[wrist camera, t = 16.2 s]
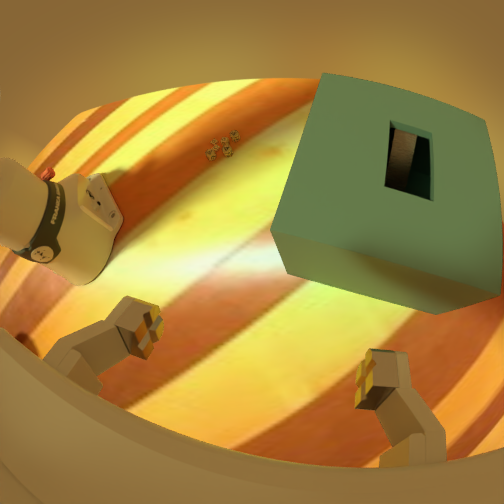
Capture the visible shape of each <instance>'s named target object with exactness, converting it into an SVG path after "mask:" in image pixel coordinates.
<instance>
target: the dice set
mask: <svg viewBox="0 0 504 504" xmlns="http://www.w3.org/2000/svg"><path fill="white" fill-rule="evenodd" d="M230 137H231V139H232V141H234V142H236V141H239V140H240V136H239V133H238V131H236V130H233V131H231V132H230ZM220 142H221V144H222V145H223V148H222V151H223V153H224V155H225V156H226V157H230V156H232V154H233V151H232V149H231V146H229V139H228V137H222V139H221V141H220ZM210 143H211V144H212V145H215V146H214V147H213V148H212V149H208V150H207V151H206V152H205V154H206V156H207V158H208V160H210V161H212V160H215V158H216V153H215V151H216V152H217V151H218V150H219V149H220V146H218V145H216V144H217V143H218V141H217V140H216V139H215V138H214V139H213V140H212V141H211V142H210Z"/></svg>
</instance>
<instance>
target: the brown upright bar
mask: <svg viewBox="0 0 504 504" xmlns="http://www.w3.org/2000/svg"><path fill="white" fill-rule="evenodd" d="M416 139H417V135H415V134H412V133H408V132H405V131H402V130H398V129H395V128H391V129H390V135H389V143H388V155H387V166H386V175H385V184H384V187H388V188H391V189H395V190H398V191H402V192H405V188H406V184H407V180H408V176H409V172H410V168H411V163H412V159H413V154H414V149H415V144H416Z"/></svg>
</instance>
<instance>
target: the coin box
mask: <svg viewBox="0 0 504 504" xmlns="http://www.w3.org/2000/svg"><path fill="white" fill-rule="evenodd" d="M391 128H395V129H398V130H402V131H405V132H408V133H412V134H415V135H417V139H416V144H415V149H414V154H413V159H412V163H411V168H410V172H409V176H408V180H407V184H406V188H405V192H402V191H398V190H395V189H391V188H388V187H384V184H385V175H386V166H387V155H388V143H389V135H390V129H391ZM270 231H271V233H272V236H273V238H274V241H275V243H276V246H277V248H278V251H279V253H280V256H281V258H282V261H283V264H284V266H285V269H286V271H287V274H290V275H294V276H297V277H301V278H304V279H308V280H311V281H315V282H318V283H322V284H325V285H329V286H332V287H336V288H340V289H343V290H347V291H350V292H354V293H358V294H361V295H365V296H369V297H372V298H376V299H379V300H383V301H387V302H390V303H394V304H398V305H402V306H405V307H409V308H413V309H416V310H420V311H424V312H428V313H431V314H435V315H437V314H441V313H445V312H449V311H452V310H456V309H459V308H463V307H466V306H469V305H473V304H476V303H479V302H482V301H485V300H488V299H491V298H494V297H497V296H500V294H501V282H502V263H503V234H502V215H501V203H500V193H499V186H498V179H497V172H496V167H495V161H494V156H493V151H492V146H491V142H490V138H489V134H488V130H487V126H486V123H485V120H483V119H481V118H479V117H477V116H475V115H473V114H470V113H468V112H466V111H463V110H461V109H459V108H456V107H454V106H451V105H449V104H446V103H443V102H441V101H438V100H435V99H432V98H429V97H426V96H423V95H420V94H417V93H414V92H411V91H407V90H404V89H400V88H396V87H393V86H389V85H385V84H381V83H377V82H372V81H368V80H363V79H358V78H353V77H347V76H341V75H335V74H328V73H323V74H322V76H321V79H320V82H319V86H318V89H317V92H316V95H315V98H314V101H313V104H312V107H311V110H310V113H309V116H308V119H307V122H306V125H305V128H304V131H303V134H302V137H301V140H300V143H299V146H298V149H297V152H296V155H295V158H294V161H293V164H292V167H291V170H290V173H289V176H288V179H287V182H286V185H285V188H284V191H283V194H282V196H281V199H280V202H279V205H278V208H277V211H276V214H275V217H274V220H273V223H272V226H271V229H270Z"/></svg>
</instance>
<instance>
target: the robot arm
mask: <svg viewBox="0 0 504 504" xmlns="http://www.w3.org/2000/svg"><path fill="white" fill-rule="evenodd" d="M0 93H1V92H0ZM0 95H1V94H0ZM54 176H55V172H54V170H53V169H52V168H51V167H48V168H47V169H46V170H45V171H44V172H43V173H42V174H41V179H40V178H38V177H37V176H35V175H34V174H33V173H31V172H30V171H29V170H27V169H26V168H24V167H23V166H22V165H20V164H19V163H18V162H16V161H15V160H13V159H10V158H0V244H1V245H3V246H5V247H8V248H10V249H12V251H13V252H14V253H15V254H17V255H19V256H20V257H23V258H25V259H27V260H30V261H33V262H37V263H40V264H42V265H43V266H45V267H47V268H49V269H50V270H52V271H53V272H54V273H55V274H57V275H60V276H62V277H63V278H65V279H66V280H67V281H69V282H70V283H71V284H73V285H77V286H80V285H85V284H87V283H89V282H91V281H92V280H93V279H94V278H95V277H96V276H97V275H98V274H99V273H100V272H101V270H102V269H103V267H104V266H105V264H106V262H107V260H108V258H109V255H110V253H111V250H112V246H113V242H114V238H115V236H116V234H117V232H118V230H119V229H120V227H121V225H122V223H123V216H122V214H121V212H120V210H119V208H118V206H117V204H116V202H115V200H114V198H113V196H112V194H111V192H110V190H109V188H108V186H107V184H106V182H105V180H104V178H103V176H102V175H101V174H100V173H97V174H93V175H91V176H89V177H87V178H85V177H84V176H83V175H81V174H72V175H70V176H68V177H66V178H64V179H63V180H61V181H60V182H58V183H55V182H52V181H49V180H50V179H52V178H53V177H54ZM160 312H161V311H160V308H159V306H157V305H154V304H151V303H148V302H145V301H142V300H139V299H136V298H133V297H130V296H125V297H123V299H122V300H121V301H120V302H119V303H118V305H117V306H116V307H115V308H114V309H113V311H112V312H111V313H110V314H109V316H108V317H107V318H106V319H105V321H103V320H101V321H98V322H96V323H94V324H92V325H89V326H87V327H85V328H83V329H81V330H78V331H76V332H74V333H72V334H69V335H67V336H65V337H63V338H61V339H59V340H58V341H57V342H56V343H55V345H54V346H53V347H52V348H51V350H50V351H49V352H48V353H47V355H46V356H45V357H44V359H43V360H42V359H40V358H39V357H38V356H36V355H35V354H34V353H32V352H31V351H30V350H29V349H27V348H26V347H25V346H24V345H22V344H21V343H20V342H19V341H18V340H16V339H15V338H14V337H13V336H12V335H11V334H10V333H8V332H7V331H6V330H5V329H4V328H1V327H0V504H504V447H503V448H500V449H496V450H493V451H490V452H486V453H482V454H478V455H474V456H470V457H466V458H461V459H456V460H451V461H447V455H446V434H445V430H444V428H443V427H442V425H441V424H440V422H439V421H438V420H437V418H436V417H435V415H434V414H433V413H432V411H431V410H430V408H429V407H428V406H427V404H426V403H425V402H424V400H423V399H422V397H421V396H420V395H419V393H418V392H417V391H416V389H412V385H411V376H410V368H409V361H408V355H407V353H406V352H399V351H391V350H380V349H369V350H368V351H367V352H366V354H365V360H363V361H361V363H360V365H359V367H358V370H357V375H356V385H357V386H358V388H359V389H358V391H357V392H356V394H355V409H364V410H375V413H376V415H377V417H378V419H379V421H380V423H381V425H382V427H383V429H384V431H385V433H386V435H387V437H388V439H389V441H390V443H391V445H392V448H391V449H389V450H388V451H386V452H385V453H383V454H382V455H381V456H380V461H379V468H351V467H332V466H320V465H310V464H302V463H294V462H288V461H281V460H275V459H270V458H265V457H260V456H255V455H251V454H246V453H242V452H238V451H234V450H230V449H227V448H223V447H219V446H216V445H213V444H209V443H206V442H203V441H200V440H197V439H194V438H191V437H188V436H185V435H182V434H180V433H177V432H174V431H172V430H169V429H166V428H164V427H161V426H159V425H157V424H154V423H152V422H150V421H147V420H145V419H143V418H141V417H138V416H136V415H134V414H132V413H130V412H128V411H126V410H124V409H122V408H120V407H118V406H116V405H114V404H112V403H110V402H108V401H106V400H104V399H103V398H101V397H99V396H98V394H99V392H100V391H101V389H102V387H103V385H102V383H101V382H100V380H99V379H98V378H97V376H98V375H100V374H101V373H103V372H104V371H106V370H107V369H109V368H111V367H112V366H114V365H115V364H117V363H119V362H120V361H122V360H123V359H125V358H126V357H128V356H129V355H130V354H131V355H133V356H136V357H139V358H142V359H144V360H147V359H148V357H149V356H150V354H151V352H152V351H153V349H154V346H153V343H155V342H157V341H159V339H160V338H161V336H162V333H163V330H164V323H163V319H162V318H161V317H160V316H159V313H160Z"/></svg>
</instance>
